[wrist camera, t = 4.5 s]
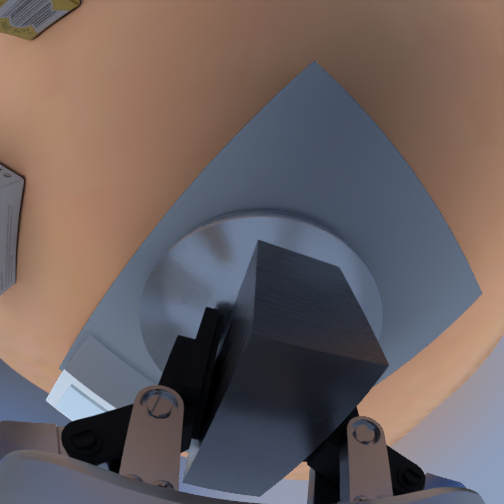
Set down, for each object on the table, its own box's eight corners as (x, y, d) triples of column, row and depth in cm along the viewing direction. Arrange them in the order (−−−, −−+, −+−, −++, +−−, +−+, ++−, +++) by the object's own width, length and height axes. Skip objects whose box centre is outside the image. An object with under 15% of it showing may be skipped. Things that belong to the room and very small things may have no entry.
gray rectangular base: (306, 72, 10) (334, 29, 6) (464, 277, 14) (516, 326, 9) (71, 350, 17) (36, 400, 12) (219, 446, 20) (212, 499, 15)
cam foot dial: (176, 174, 10) (77, 219, 4) (412, 258, 11) (498, 349, 5) (137, 382, 14) (99, 470, 8) (302, 425, 15) (310, 514, 9)
